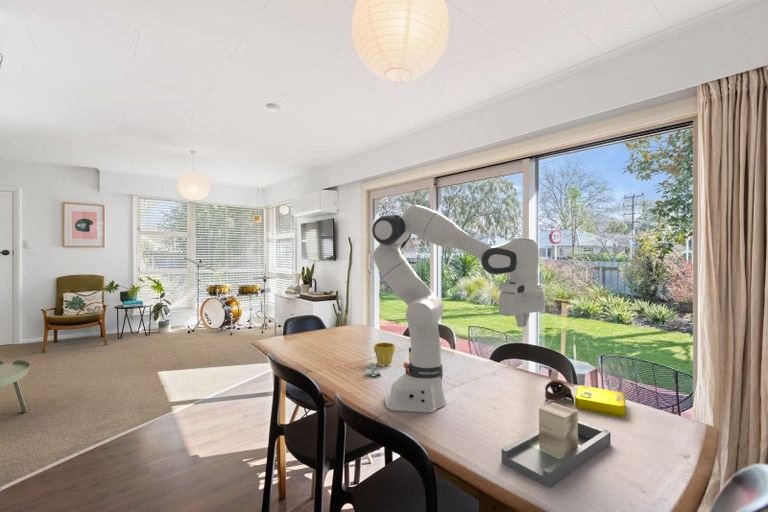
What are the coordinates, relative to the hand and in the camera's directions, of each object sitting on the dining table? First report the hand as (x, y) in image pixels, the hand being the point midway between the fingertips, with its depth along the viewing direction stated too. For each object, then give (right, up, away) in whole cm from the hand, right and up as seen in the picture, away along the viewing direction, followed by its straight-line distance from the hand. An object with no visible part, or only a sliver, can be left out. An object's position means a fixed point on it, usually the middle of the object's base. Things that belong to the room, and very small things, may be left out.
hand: (521, 326), depth 120 cm
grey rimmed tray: (+1, -30, -23) cm, 38 cm away
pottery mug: (+19, -31, +14) cm, 38 cm away
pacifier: (-51, -31, +43) cm, 73 cm away
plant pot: (-46, -31, +59) cm, 81 cm away
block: (+1, -28, -23) cm, 36 cm away
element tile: (+31, -31, +8) cm, 45 cm away
